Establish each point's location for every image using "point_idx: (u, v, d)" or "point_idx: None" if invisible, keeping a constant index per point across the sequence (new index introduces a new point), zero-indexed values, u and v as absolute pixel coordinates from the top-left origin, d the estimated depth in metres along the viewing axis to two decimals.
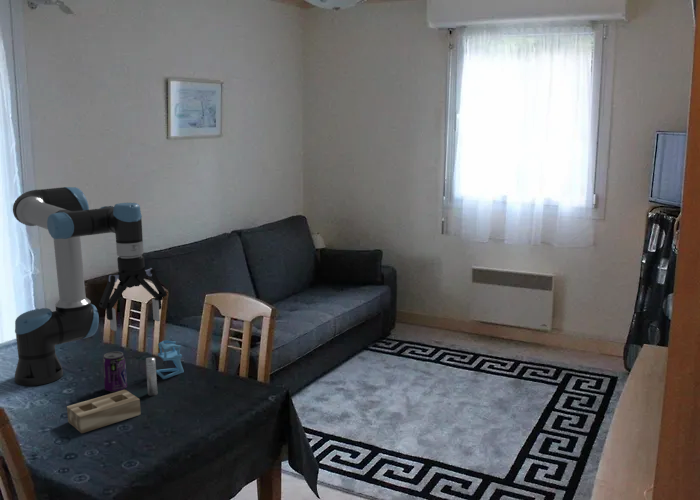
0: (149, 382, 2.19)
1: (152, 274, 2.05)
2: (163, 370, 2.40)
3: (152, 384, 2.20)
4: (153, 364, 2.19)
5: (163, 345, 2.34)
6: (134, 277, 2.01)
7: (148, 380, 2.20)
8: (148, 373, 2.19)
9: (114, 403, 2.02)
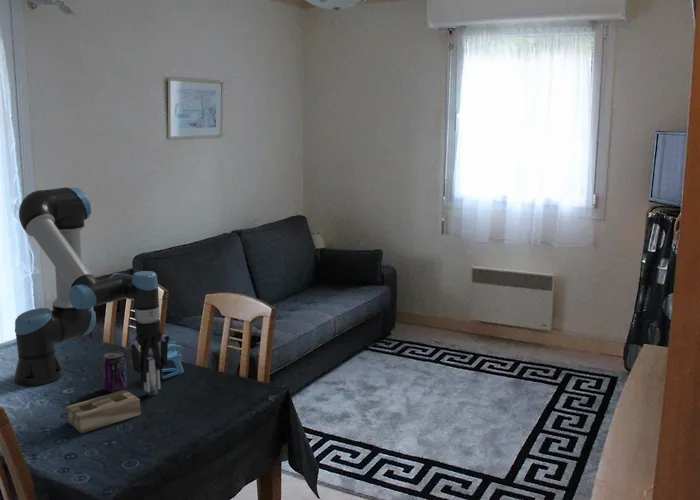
0: None
1: (165, 340, 2.21)
2: (163, 370, 2.40)
3: (152, 384, 2.20)
4: (153, 364, 2.19)
5: None
6: (151, 338, 2.17)
7: None
8: None
9: (114, 403, 2.02)
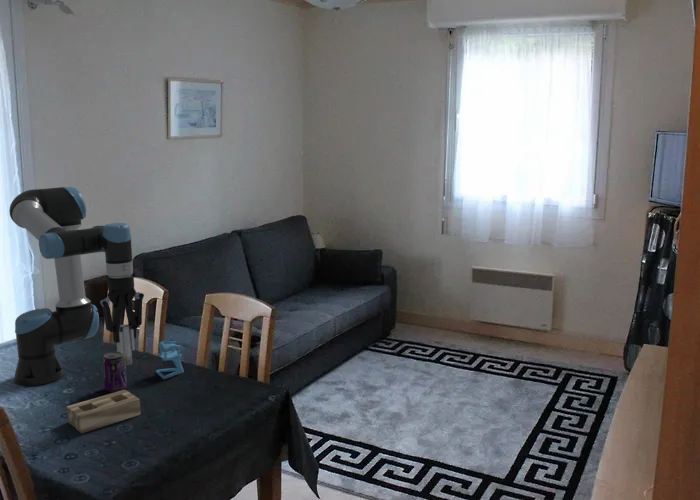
0: None
1: (139, 298, 2.07)
2: (163, 370, 2.40)
3: (127, 353, 2.07)
4: (127, 331, 2.06)
5: (163, 345, 2.34)
6: (124, 294, 2.04)
7: None
8: None
9: (114, 403, 2.02)
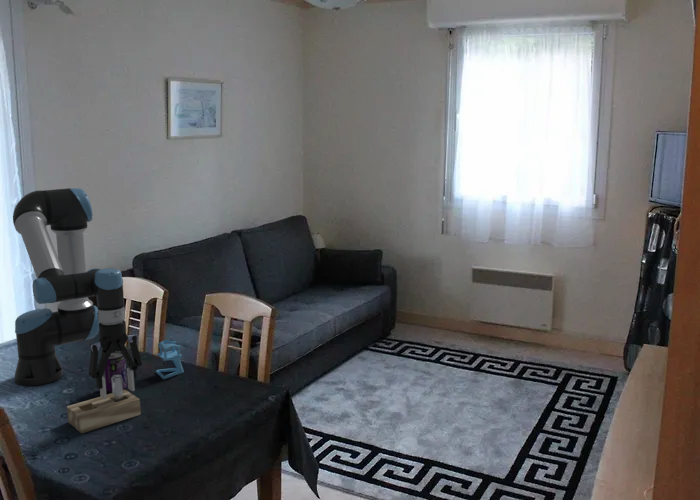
0: None
1: (133, 341, 2.06)
2: (163, 370, 2.40)
3: None
4: (119, 382, 2.04)
5: (163, 345, 2.34)
6: (116, 341, 2.02)
7: (114, 399, 2.05)
8: (114, 392, 2.04)
9: (114, 403, 2.02)
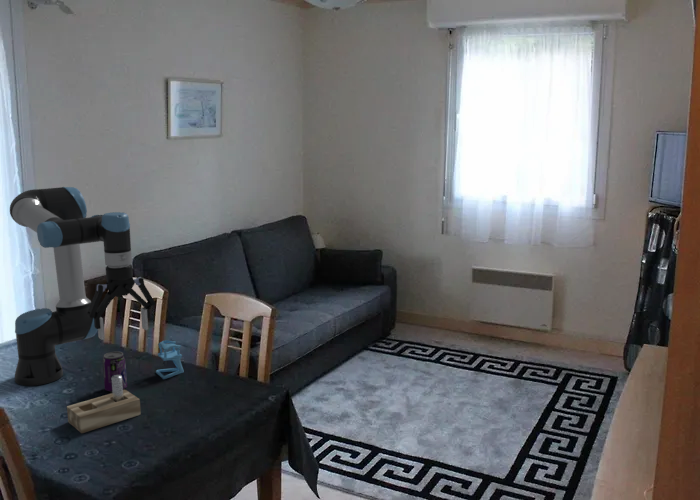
0: None
1: (140, 283, 2.06)
2: (163, 370, 2.40)
3: None
4: (119, 382, 2.04)
5: (163, 345, 2.34)
6: (122, 286, 2.02)
7: (114, 399, 2.05)
8: (114, 392, 2.04)
9: (114, 403, 2.02)
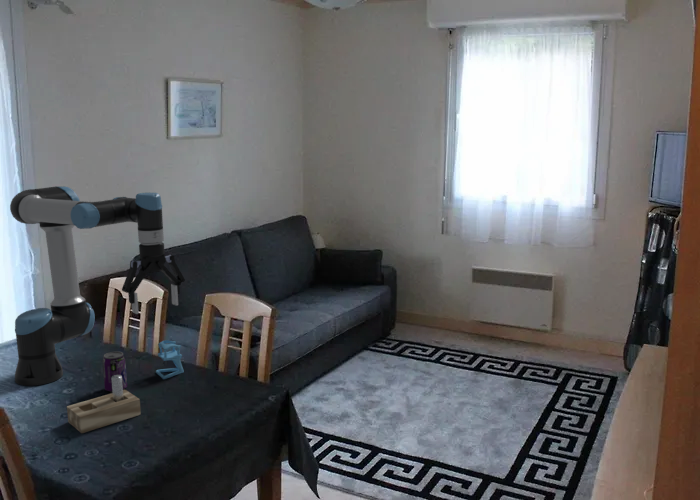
0: None
1: (171, 260, 2.16)
2: (163, 370, 2.40)
3: None
4: (119, 382, 2.04)
5: (163, 345, 2.34)
6: (155, 263, 2.12)
7: (114, 399, 2.05)
8: (114, 392, 2.04)
9: (114, 403, 2.02)
